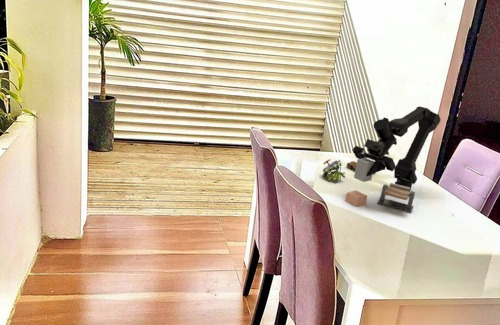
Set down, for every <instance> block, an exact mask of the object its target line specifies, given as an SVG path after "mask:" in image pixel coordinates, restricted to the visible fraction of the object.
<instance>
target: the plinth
mask: <svg viewBox="0 0 500 325" xmlns="http://www.w3.org/2000/svg"><path fill="white" fill-rule="evenodd" d="M367 198H368V194H365V193H362V192H361V191H358V190H350V191H347V192H346V195H345V198H344V199H345V200H344V201H345V202H346V203H348V204H350V205H353V206H354V207H360V206H364V205H367V204H366V203H367Z"/></svg>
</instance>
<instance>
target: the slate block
mask: <svg viewBox="0 0 500 325" xmlns="http://www.w3.org/2000/svg"><path fill="white" fill-rule="evenodd" d="M356 162H357V165H356V170H355V169H354V170H355V171H354V174H353V178H354V179H355V180H359V181H361V182H363V183H364V182H370V181H372V178H373V174H372V175H370V176H367V175H366V174H367V173H368V171H369V170H370V169H371V167H372V166H373V165H374V163H375V161H374V160H372V159H369V158H367V159H366V158H362V159H358V158H357V161H356Z"/></svg>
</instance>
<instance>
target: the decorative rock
mask: <svg viewBox="0 0 500 325" xmlns="http://www.w3.org/2000/svg"><path fill="white" fill-rule="evenodd" d="M356 165H357V161H355V160H352V161H350V162H347V164H346V167H347V168H348V169H350V170H351V169H354V170H356ZM373 175H376V173H374V174H373Z"/></svg>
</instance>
